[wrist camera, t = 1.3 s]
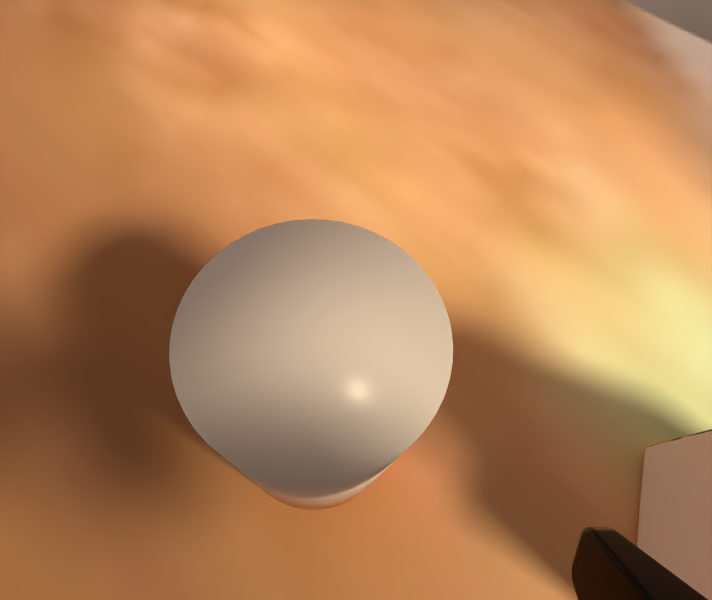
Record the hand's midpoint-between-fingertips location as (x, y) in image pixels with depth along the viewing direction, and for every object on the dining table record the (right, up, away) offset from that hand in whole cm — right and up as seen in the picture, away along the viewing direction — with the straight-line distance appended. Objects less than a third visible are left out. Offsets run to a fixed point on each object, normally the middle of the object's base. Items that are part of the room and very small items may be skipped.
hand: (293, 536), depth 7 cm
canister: (-1, -2, +12) cm, 12 cm away
